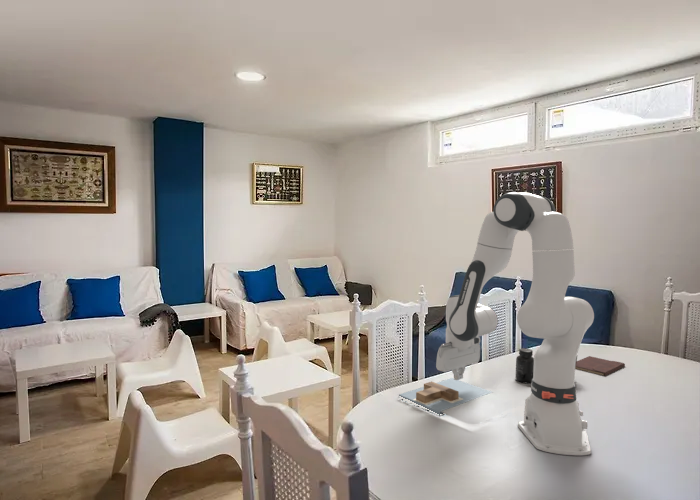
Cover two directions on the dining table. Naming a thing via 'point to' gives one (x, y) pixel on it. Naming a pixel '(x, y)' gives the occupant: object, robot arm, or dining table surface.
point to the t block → (436, 393)
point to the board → (438, 405)
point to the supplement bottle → (524, 366)
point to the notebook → (598, 365)
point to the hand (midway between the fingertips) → (458, 379)
